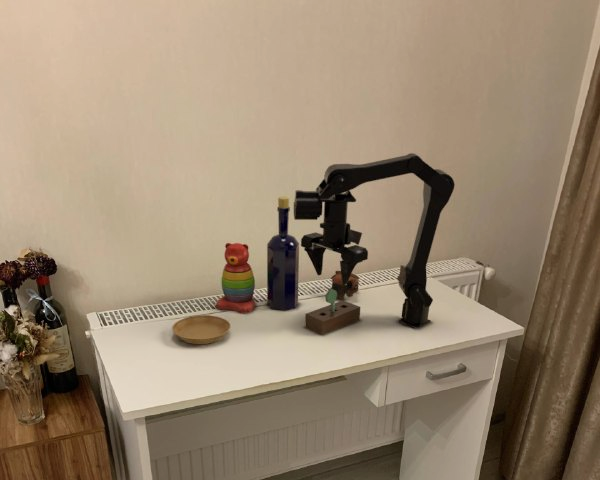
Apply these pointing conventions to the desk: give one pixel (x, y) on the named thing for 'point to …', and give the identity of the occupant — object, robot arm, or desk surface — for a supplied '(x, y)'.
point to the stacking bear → (237, 280)
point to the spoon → (331, 298)
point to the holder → (332, 317)
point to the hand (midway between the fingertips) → (331, 279)
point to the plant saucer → (201, 329)
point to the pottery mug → (344, 289)
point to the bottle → (282, 264)
